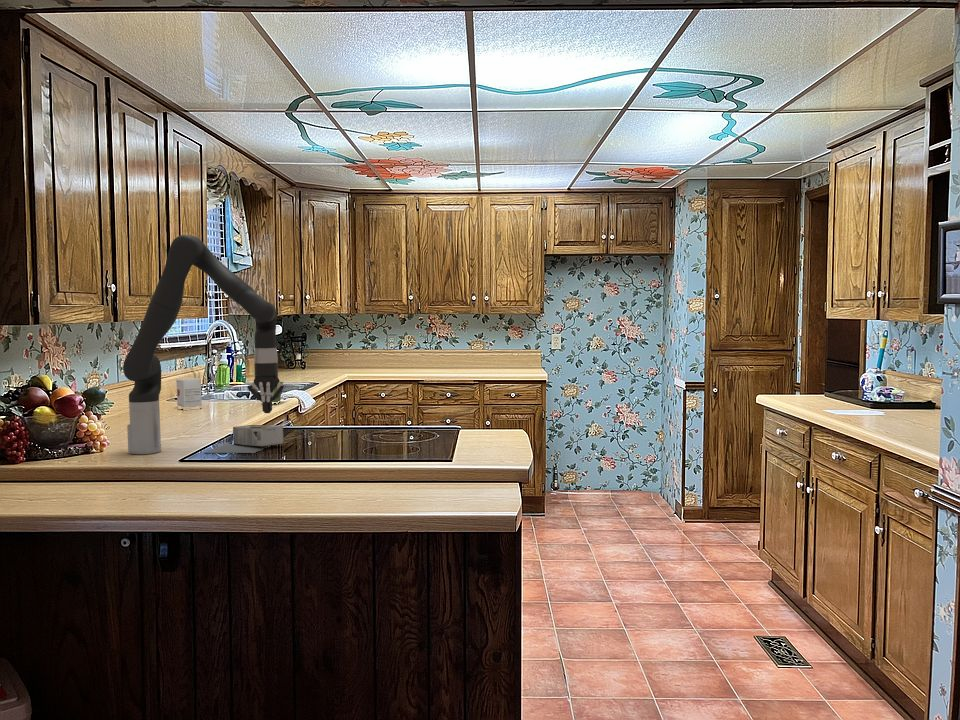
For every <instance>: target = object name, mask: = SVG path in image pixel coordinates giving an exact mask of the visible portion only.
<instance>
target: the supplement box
mask: <svg viewBox="0 0 960 720" xmlns="http://www.w3.org/2000/svg"><path fill="white" fill-rule="evenodd" d="M175 381H176V402H177V403H176V404H177V405H178V406H181V407H196V406H202V407H203V400H202V397H203V396H202V379H201V378H197V377H188V378H177V379H176V380H175ZM178 406H177V407H178Z"/></svg>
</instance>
